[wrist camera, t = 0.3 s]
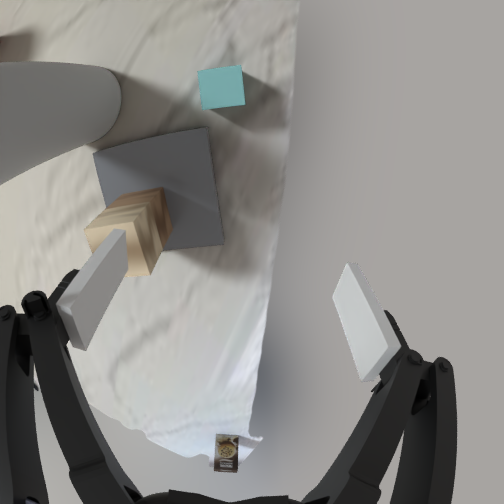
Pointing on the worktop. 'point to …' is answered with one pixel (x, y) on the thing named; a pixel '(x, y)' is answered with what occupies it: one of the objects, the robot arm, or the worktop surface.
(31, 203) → the worktop surface
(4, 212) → the worktop surface
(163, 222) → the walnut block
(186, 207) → the slate board
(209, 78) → the teal block
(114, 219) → the beech block
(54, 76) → the cylinder vase
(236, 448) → the coffee box
